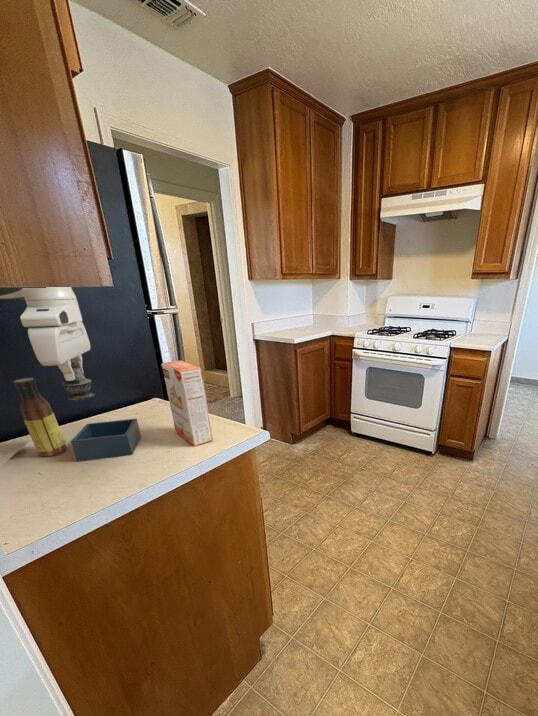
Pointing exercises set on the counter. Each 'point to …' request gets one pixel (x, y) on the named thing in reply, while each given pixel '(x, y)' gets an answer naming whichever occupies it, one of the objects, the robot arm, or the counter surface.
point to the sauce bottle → (39, 419)
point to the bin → (106, 440)
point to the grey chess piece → (78, 383)
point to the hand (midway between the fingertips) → (75, 377)
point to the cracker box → (188, 401)
